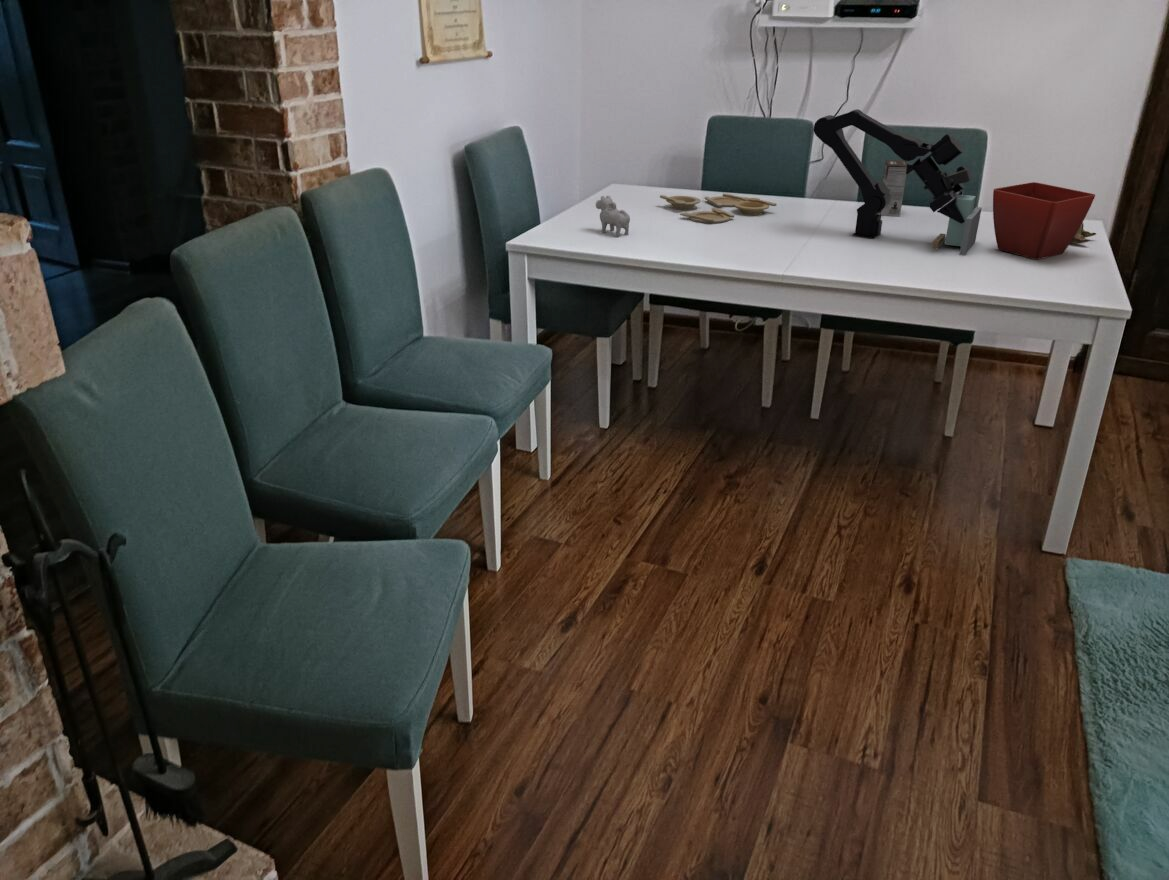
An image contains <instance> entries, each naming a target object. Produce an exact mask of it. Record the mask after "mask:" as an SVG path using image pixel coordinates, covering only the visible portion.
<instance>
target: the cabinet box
mask: <svg viewBox="0 0 1169 880" xmlns="http://www.w3.org/2000/svg"><path fill="white" fill-rule="evenodd" d="M956 197H957V202H956V205H957V207H958V209H959V211H960V213H961V214H962V216H963V218H964V220H965V222H966V218H967V217H968V216H969V215H970V214H971V212H972V211H973V210H974V209H975V208H974V207H975V201H976V195H968V194H963V195H960V194H957V195H956V196H955V197H954V198H956ZM965 222H963V223H962V224H961V223H959V222H957V221H955V220H953V219H951V218H949V217H948V223H947V230H946V233H945V234H946V236H945V241H944V245H949V246H955V247H961V243H962V238H963V233H964V227H965Z"/></svg>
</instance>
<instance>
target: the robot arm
mask: <svg viewBox="0 0 1169 880" xmlns="http://www.w3.org/2000/svg"><path fill="white" fill-rule="evenodd" d="M851 126H853V127H855V128H857V129H858V130H860V131H862V132H863V133H865V134H867V135H869V136H871V137H873V138H874V139H876V140H878V141H879V142H882V143H883V144H884V145H886V146H888V147H889V148H890V149H891V151H892V152H893V153H894V154H895V155H896V156H898V157H899V158H900V159H901V160H902V161H906V162H909V163H907V170H906V174H907V175H908V174H910V173H912V172H913V173H915V175H916V177H918V178H919V180H920V181H921V182H922V184H923V185H924V186H923V188H924V190H927V191H929V193H930V194H931V195H932V197H933V198H932V201H930V203H929V208H930V210H931V211H932V212H933V213H935V212H936V213H939V214H941V215H943V216H945V217H948V219H949V218H951V219H953V220H955V221H957V222H959V223H961V224H962V223H963V222H965V220H964V218H963V216H962V214H961V213H960V211H959V209H958V207H957V205H956V202H957V197H956V198H954V197H955V196H956V195H957V194H960V195H964V192H965V190H964V189H965V185H964V184H965V183H968V182H970V181H971V180H972V179H973V178H972V175H971V173H972V172H971V171H972V170H971V169H970V168H969V167H966V166H965V165H961V166H957V168H956V171H954V172H952V173H949V172H948V171H943V170H942V169H941V167H940V166H941V165H943V166H947V165H948V164H950V163H951V162H952V161H954V160H955V159H956V158H958V157H959V156H961V154H962V155H963V153H964V149H963V146H962V145H961V143H960V142H959V141H958V140H956V138H955V137H953V136H952V135H951V134H950V133H946V134H945V135H944V136H942V138H941V139H940V140H938V141H937V142H936V143H935V144H932V143H927V142H923V140H922V139H920V138H919V137H918V136H915V135H910V134H907V133H903V132H899V131H896V130H895V129H893V128H891V127H889V126H887V125H886V124H883V123H882V122H880V121H878V120H876V119H875V118H873V117H870V116H869V115H867V114H866V113H864V112H863V111H862V110H860V109H853V110H851V111H849V112H846V113H843V114H840V115H836V116H835V115H833V114H832V115H830V114H829V115H828V114H827V115H825V116H823V117H820V118H819V119H817V120H816V121H815V122H814V124H813V133H814V135H815V136H816V137H817V138H818V139H819V140H820V141H821V142H822V143H823V144H825V145H827V147H829V148H830V149H832V151H833V152H834V154H835V155H836V156H837V158H838V159H839V161H840V162H841V164H842V165H843V167H844V168H845V169H846V171H847V172H848V174H849V175H850V177H851V178H852V179H853V181H854V182H855V184H856V185H857V186H858V188H859V190H860V195H861V197H862V200H863V204H861V206H859V207H858V208H857V209H856V213H857V216H856V221H855V224H856V225H855V228H854V229H855V230H854V232H853V233H852V236H854V237H862V238H867V239H874V238H876V237H879V236H881V235H882V233H881V232H882V227H883V226H882V225H883V220H882V216H881V215H880V213H881V211H882V210H883V209H884V208H885V207H886V206H887V205H888V204H889V203H890V200H891V195H890V193H889V191H891V190H890V189H888V188H887V187H886V185H885V183H884V181H883V179H881V180H879V181H877V180H876V179H874V178H873V177H872V176H871V174H870V173H869V171H868V169H867V168H866V167H865V166H864V164H863V163H862V161H861V160H860V158H859V157H858V155H857V154H856V153H855V151H854V150H853V148H852V146H851V145H850V144H849V142H848V141H847V140H846V138H845V137H846V136H845V133H844V129H846V128H848V127H851ZM929 153H930V154H929ZM927 154H929V155H928V156H926V155H927ZM925 156H926V157H925ZM923 157H925V158H923ZM916 158H918V159H916ZM915 159H916V160H915ZM913 160H915V161H914V162H913V163H910V162H911V161H913ZM963 183H964V184H963Z"/></svg>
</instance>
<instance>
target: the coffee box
mask: <svg viewBox="0 0 1169 880" xmlns="http://www.w3.org/2000/svg"><path fill="white" fill-rule="evenodd" d="M907 164H908V163H907V161H905V160H894V159H893V160H890V159H889V160H885V164H884V170H883V175H882V177H883V178H882V180H883V181H884V183H885V185H886V187H887V188H888V189H890V190H891V191H889V193H890V195H891V200H890V203H889V204H888V205H887V206H886V207H885V208H884V209H883V210H882V211H881V213H879V215H881V217H882V216H883V217H884V216H885V217H901V212H902V204H903V199H904V193H905V187H906V181H907V175H908V174H906V170H907Z"/></svg>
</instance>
